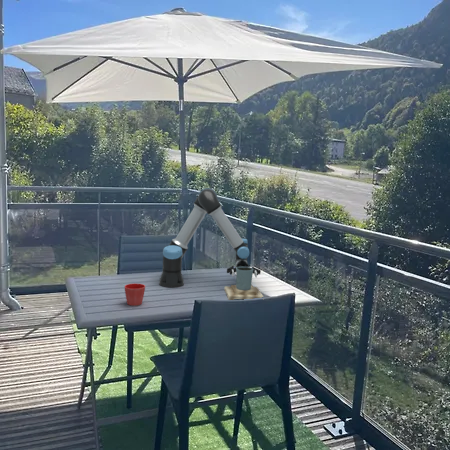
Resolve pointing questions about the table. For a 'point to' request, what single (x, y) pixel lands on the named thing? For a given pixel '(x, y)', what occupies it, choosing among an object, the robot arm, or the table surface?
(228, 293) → the stepped square base
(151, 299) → the table surface
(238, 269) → the blue-grey embossed cup
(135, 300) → the flower pot
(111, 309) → the table surface
